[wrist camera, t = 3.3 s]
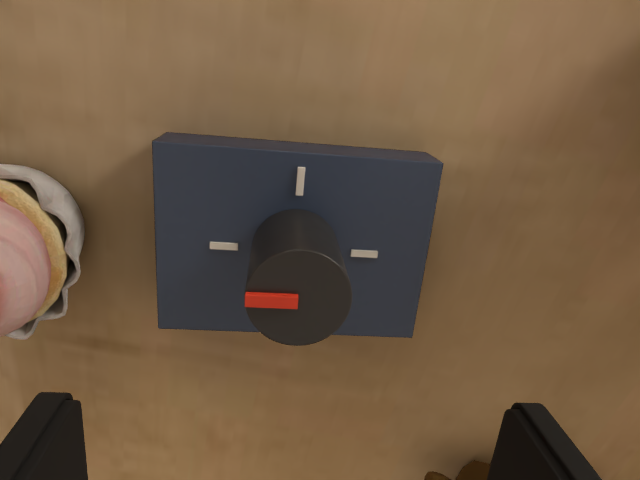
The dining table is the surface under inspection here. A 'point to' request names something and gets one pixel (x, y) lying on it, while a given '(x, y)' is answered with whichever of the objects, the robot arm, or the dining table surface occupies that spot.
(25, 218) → the cupcake
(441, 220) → the dining table surface
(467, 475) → the rolling pin
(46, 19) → the dining table surface
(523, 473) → the robot arm
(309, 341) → the dial
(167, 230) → the dial panel
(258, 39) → the dining table surface
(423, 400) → the dining table surface
